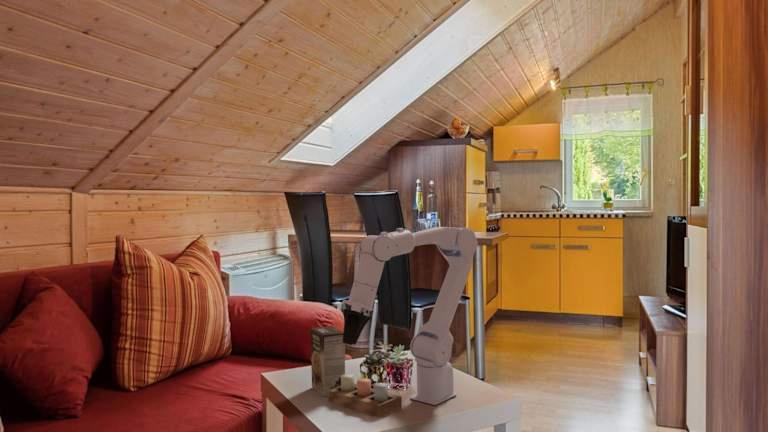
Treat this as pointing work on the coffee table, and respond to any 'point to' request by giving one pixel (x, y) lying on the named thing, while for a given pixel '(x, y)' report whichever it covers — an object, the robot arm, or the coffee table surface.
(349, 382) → the pale green egg
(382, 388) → the white egg
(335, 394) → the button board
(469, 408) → the coffee table surface
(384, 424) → the coffee table surface
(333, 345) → the coffee box
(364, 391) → the orange egg
